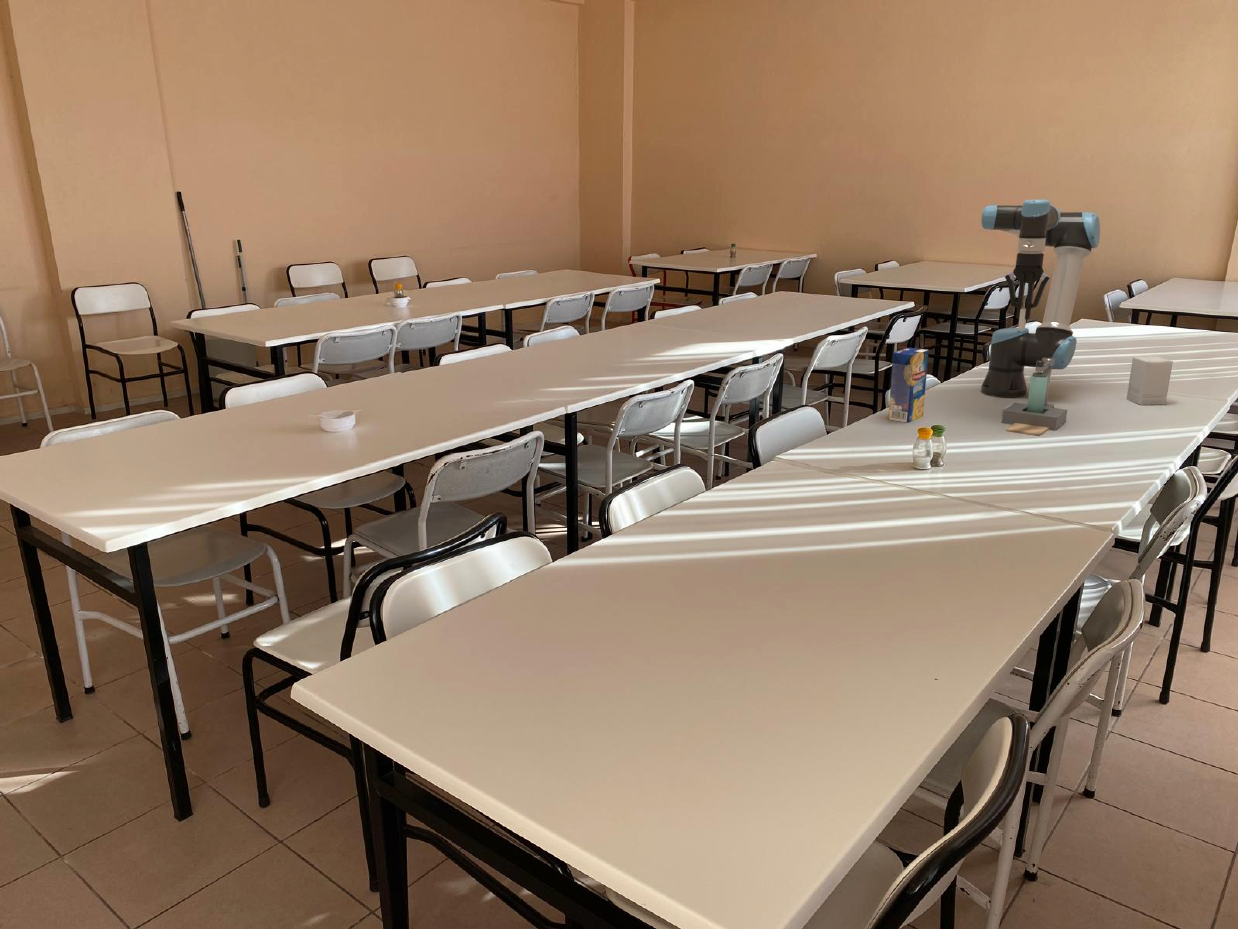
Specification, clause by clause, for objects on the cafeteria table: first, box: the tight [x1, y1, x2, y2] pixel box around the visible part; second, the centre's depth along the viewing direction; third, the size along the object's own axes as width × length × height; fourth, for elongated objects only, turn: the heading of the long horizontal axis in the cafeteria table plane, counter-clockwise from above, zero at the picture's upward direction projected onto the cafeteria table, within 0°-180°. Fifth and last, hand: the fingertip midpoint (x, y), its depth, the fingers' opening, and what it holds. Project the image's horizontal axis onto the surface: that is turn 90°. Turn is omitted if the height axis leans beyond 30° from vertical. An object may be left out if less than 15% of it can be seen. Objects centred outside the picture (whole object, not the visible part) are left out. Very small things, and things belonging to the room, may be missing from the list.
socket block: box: [1001, 367, 1068, 431], centre depth 282 cm, size 16×16×16 cm
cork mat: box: [1005, 423, 1049, 437], centre depth 275 cm, size 10×10×1 cm
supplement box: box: [1126, 355, 1173, 406], centre depth 301 cm, size 9×9×15 cm
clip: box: [1034, 358, 1055, 373], centre depth 280 cm, size 12×4×3 cm, turn 141°
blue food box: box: [887, 347, 929, 423], centre depth 288 cm, size 7×11×22 cm, turn 137°
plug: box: [1027, 371, 1048, 414], centre depth 280 cm, size 5×5×16 cm
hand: (1021, 329), depth 278 cm, fingers closed
